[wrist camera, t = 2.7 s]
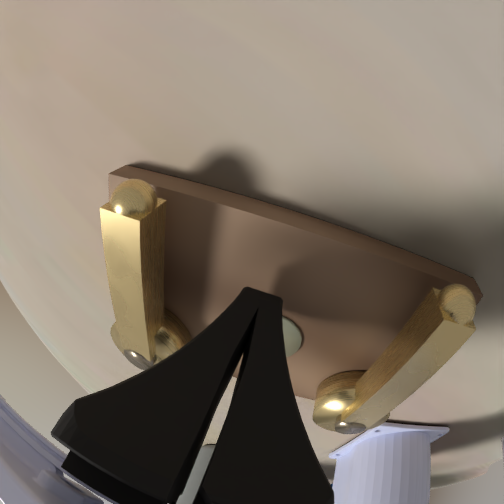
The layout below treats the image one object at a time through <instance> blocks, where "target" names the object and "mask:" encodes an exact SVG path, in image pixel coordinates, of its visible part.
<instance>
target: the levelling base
mask: <svg viewBox="0 0 504 504" xmlns="http://www.w3.org/2000/svg"><path fill="white" fill-rule="evenodd" d="M129 179H140V180H143V181H145V182H147V183H148V184H150V185H151V186H152V188H153V189H154V191H155V193H156V195H157V198H161V199H164V200H167V201H166V218H165V242H164V308H166V309H168V310H169V311H170V312H172V313H173V314H174V315H176V316H177V317H178V318H179V319H180V320H181V321H182V322H183V324H184V325H185V326H186V328H187V329H188V331H189V333H190V335H191V339H193V338H194V337H196V336H197V335H198V334H199V333H200V332H202V331H203V330H204V329H205V328H206V327H208V326H209V325H210V324H211V323H212V322H213V321H214V320H215V319H216V318H217V317H218V316H219V315H220V314H221V313H223V312H224V311H225V310H226V308H227V307H228V306H229V305H230V304H231V303H232V302H233V301H234V300H235V299H236V297H237V296H238V295H239V294H240V292H241V291H242V289H243V288H244V287H247V286H248V287H251V288H254V289H257V290H260V291H263V292H266V293H269V294H272V295H275V296H278V297H281V298H282V300H283V308H282V321H283V335H284V343H285V351H286V358H287V364H288V369H289V374H290V379H291V383H292V388H293V392H294V395H296V396H299V397H303V398H307V399H312V400H315V399H316V392H317V387H318V385H319V384H320V383H321V382H322V381H323V380H325V379H326V378H328V377H330V376H333V375H336V374H339V373H344V372H352V371H363V372H366V371H367V370H368V369H369V368H370V367H371V366H372V365H373V364H374V362H375V361H376V360H377V359H378V358H379V357H380V356H381V354H382V353H383V352H384V351H385V350H386V348H387V347H388V346H389V345H390V344H391V342H392V341H393V340H394V339H395V337H396V336H397V335H398V334H399V332H400V331H401V330H402V329H403V327H404V326H405V325H406V323H407V322H408V321H409V319H410V318H411V317H412V315H413V314H414V313H415V311H416V310H417V308H418V307H419V306H420V304H421V303H422V301H423V300H424V299H425V297H426V296H427V294H428V293H429V291H430V290H431V288H432V287H434V288H437V289H439V290H442V289H443V288H444V287H446V286H448V285H451V284H461V285H464V286H466V287H467V288H468V289H469V290H470V291H471V292H472V294H473V295H474V298H475V302H476V305H477V304H478V302H479V301H480V299H481V298H482V297H483V294H482V292H481V291H480V289H479V287H478V285H477V283H476V281H475V279H474V278H472V277H469V276H467V275H465V274H462V273H460V272H458V271H455V270H453V269H451V268H448V267H446V266H443V265H441V264H439V263H436V262H434V261H431V260H429V259H426V258H424V257H421V256H419V255H416V254H414V253H411V252H409V251H406V250H403V249H401V248H398V247H396V246H393V245H390V244H388V243H385V242H382V241H380V240H377V239H374V238H371V237H369V236H366V235H363V234H360V233H358V232H355V231H352V230H349V229H346V228H343V227H340V226H338V225H335V224H332V223H329V222H326V221H323V220H320V219H317V218H314V217H311V216H308V215H305V214H302V213H299V212H295V211H292V210H289V209H286V208H283V207H280V206H276V205H273V204H270V203H267V202H263V201H260V200H257V199H253V198H250V197H246V196H243V195H240V194H236V193H233V192H229V191H226V190H222V189H218V188H215V187H211V186H208V185H204V184H200V183H196V182H193V181H189V180H185V179H181V178H177V177H173V176H169V175H165V174H161V173H157V172H153V171H149V170H145V169H141V168H136V167H132V166H128V165H125V166H123V167H121V168H119V169H117V170H115V171H113V172H111V173H109V201H110V198H111V195H112V193H113V191H114V189H115V188H116V187H117V186H118V185H119V184H120V183H122V182H123V181H126V180H129ZM242 357H243V355H242ZM242 357H241V359H240V361H239V363H238V365H237V368H236V370H235V372H234V374H233V377H236V378H237V377H238V373H239V369H240V365H241V361H242Z"/></svg>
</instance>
